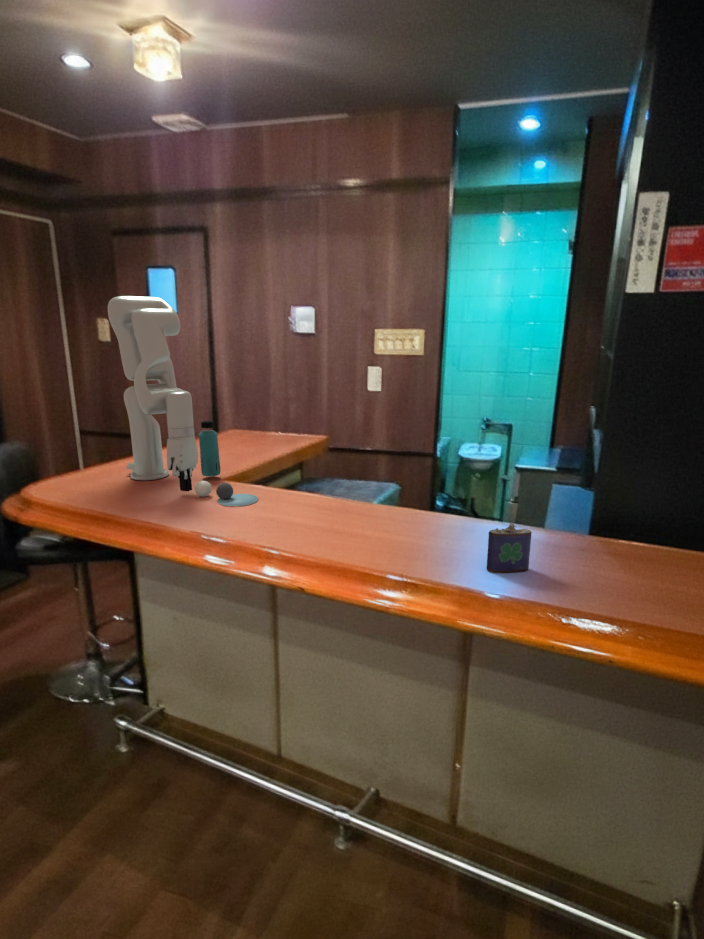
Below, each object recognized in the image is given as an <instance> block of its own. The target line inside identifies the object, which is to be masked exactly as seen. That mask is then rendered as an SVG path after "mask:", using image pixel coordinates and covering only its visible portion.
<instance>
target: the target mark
mask: <svg viewBox="0 0 704 939" xmlns="http://www.w3.org/2000/svg"><path fill="white" fill-rule="evenodd" d="M258 501H259V497H258V496H257V495H254V494H251V493H250V494H249V493H233V495H232V496H231V497H230V498H229V499H221V498H218V499H217V504H218V503H219V504H218V505H220V504H221V505H220V506H222V505H224V506H223V507H227V506H241V507H246V506H245V505H247V506H251V505H254V504H255V502H256V503H257V502H258ZM253 503H254V504H253ZM250 504H251V505H250Z"/></svg>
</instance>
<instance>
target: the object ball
mask: <svg viewBox="0 0 704 939" xmlns="http://www.w3.org/2000/svg"><path fill="white" fill-rule="evenodd" d="M215 492H216V496H217V497H218V499H220V498H221V499H229V498H230V497H231V496H232V495H233V494H234V488H233V486H232V485H231V484H230V483H228V482H222V483H220V484H218V486H217V487H216V490H215Z"/></svg>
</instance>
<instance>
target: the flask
mask: <svg viewBox="0 0 704 939" xmlns="http://www.w3.org/2000/svg"><path fill="white" fill-rule="evenodd" d="M516 527H517V525H515V523H514V522H510V523H509V525H508V526H507V527H506V528H501V529H499V528H498V527H496V528H494V529H491V530H488V540H487V541H488V542H487V543H488V544H487V554H486V558H487V559H486V571H487V573H488V572H489V573H492V574H509V573H520V572H522V573H524V572H527V571H529V568H530V556H531V554H530V552H531V543H532V542H531V541H532V530H531V529H528V528H520V529H516Z"/></svg>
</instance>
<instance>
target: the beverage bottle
mask: <svg viewBox="0 0 704 939" xmlns="http://www.w3.org/2000/svg"><path fill="white" fill-rule="evenodd" d="M214 427H215V425H214V421H213V420H202V421H201V422H200V428H202V429H207V430H202V431H200V432H199V433H198V443H199V457H200V458H199V459H200V461H199V462H200V470H201V475H202V476H203V477H216V476H220V474H221V461H220V451H219V450H220V447H219V445H220V444H219V438H218V433H217V432H216V431H215V430H213V429H211V428H214Z"/></svg>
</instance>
